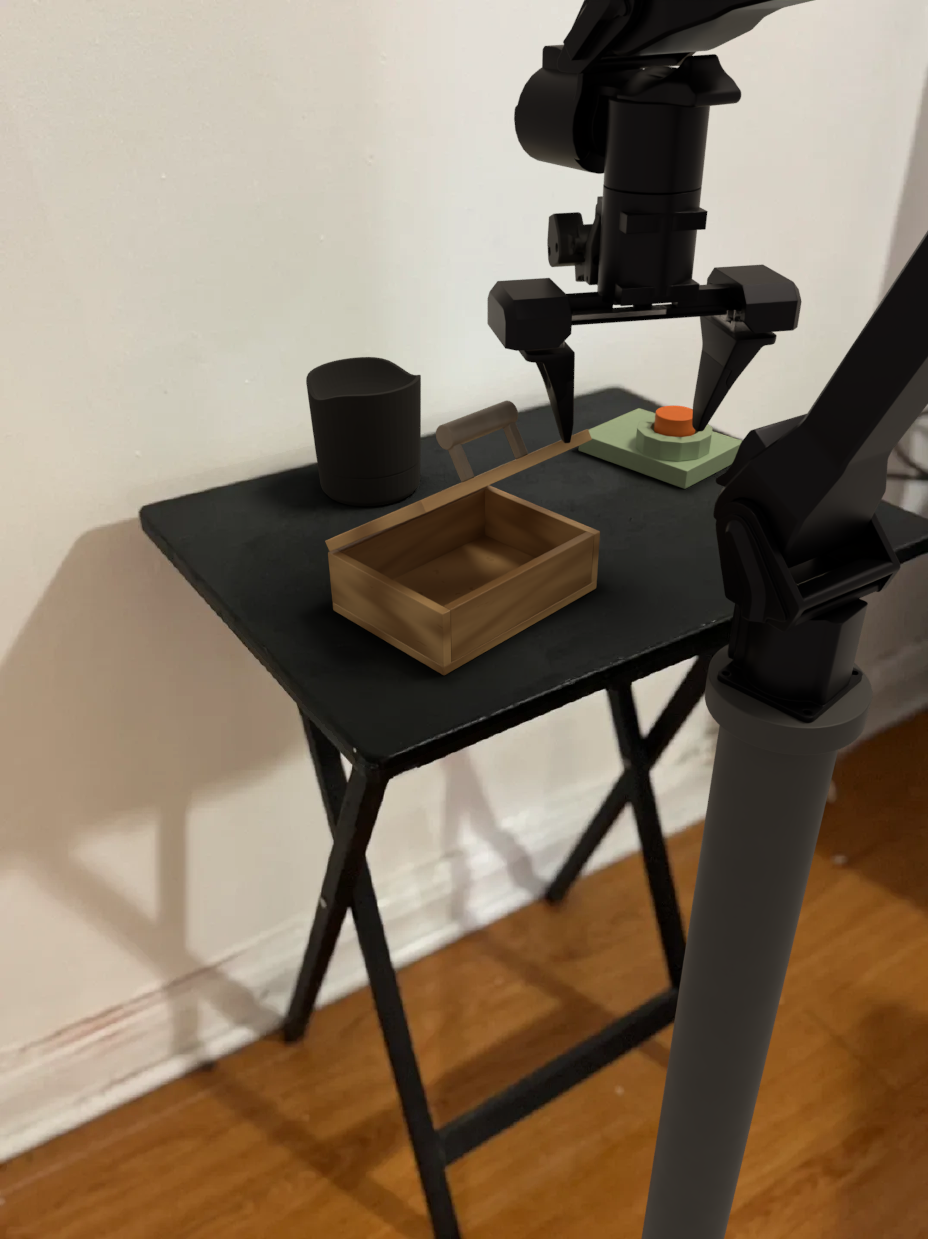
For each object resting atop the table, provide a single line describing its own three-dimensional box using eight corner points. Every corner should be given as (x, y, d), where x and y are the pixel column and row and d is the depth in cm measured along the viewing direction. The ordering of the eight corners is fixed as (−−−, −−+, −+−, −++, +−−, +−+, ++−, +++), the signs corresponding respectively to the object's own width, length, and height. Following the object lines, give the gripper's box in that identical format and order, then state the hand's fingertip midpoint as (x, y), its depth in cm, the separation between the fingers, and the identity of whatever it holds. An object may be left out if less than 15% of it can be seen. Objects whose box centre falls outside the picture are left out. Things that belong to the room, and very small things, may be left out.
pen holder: (429, 464, 95) (426, 357, 89) (418, 511, 87) (414, 396, 82) (327, 463, 95) (317, 356, 90) (307, 509, 88) (295, 395, 82)
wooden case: (596, 588, 76) (600, 531, 74) (443, 676, 67) (442, 614, 64) (485, 537, 83) (485, 483, 80) (332, 610, 74) (327, 552, 71)
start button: (703, 431, 93) (705, 412, 92) (679, 442, 91) (681, 423, 90) (669, 420, 95) (671, 402, 94) (645, 431, 93) (647, 412, 92)
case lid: (592, 439, 71) (566, 375, 70) (425, 513, 62) (395, 440, 61) (487, 482, 80) (463, 426, 80) (329, 551, 71) (301, 489, 71)
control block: (742, 458, 95) (748, 422, 93) (685, 489, 90) (689, 451, 88) (637, 424, 103) (640, 390, 101) (578, 450, 97) (579, 415, 95)
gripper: (744, 157, 69) (716, 384, 78) (469, 169, 66) (471, 403, 75) (824, 187, 60) (783, 441, 68) (509, 203, 57) (506, 466, 66)
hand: (632, 435), depth 70 cm, fingers open, 9 cm apart
